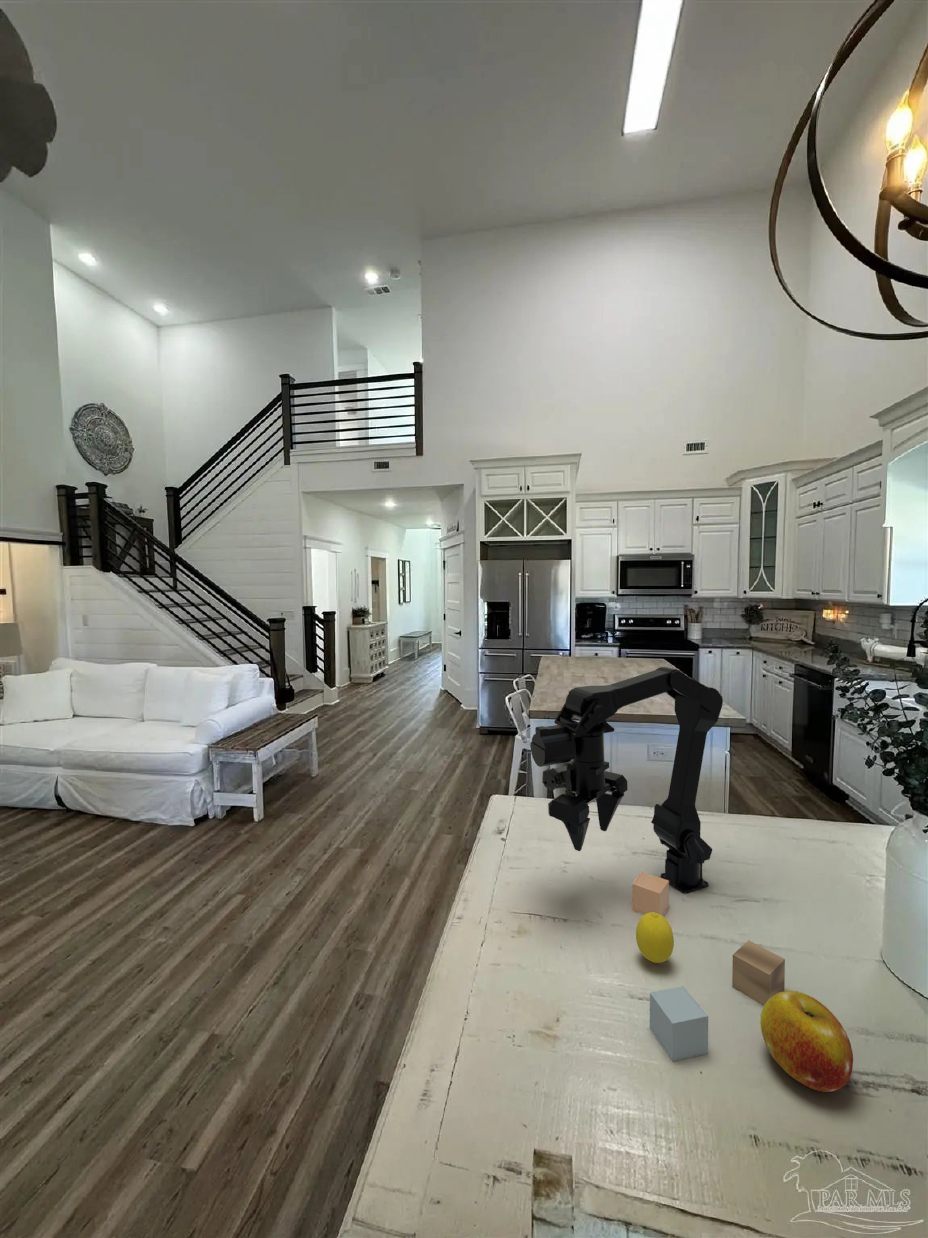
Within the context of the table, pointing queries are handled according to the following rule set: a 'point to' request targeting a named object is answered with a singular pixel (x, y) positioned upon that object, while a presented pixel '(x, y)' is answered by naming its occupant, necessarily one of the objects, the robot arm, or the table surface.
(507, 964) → the table surface
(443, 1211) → the table surface
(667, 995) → the slate block
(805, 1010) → the fruit
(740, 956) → the walnut block
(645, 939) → the lemon
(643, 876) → the terracotta block
